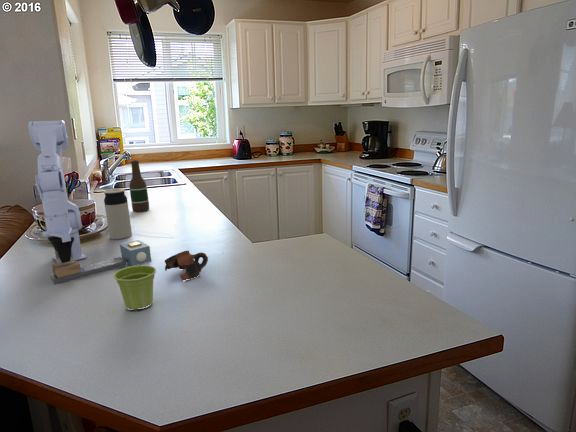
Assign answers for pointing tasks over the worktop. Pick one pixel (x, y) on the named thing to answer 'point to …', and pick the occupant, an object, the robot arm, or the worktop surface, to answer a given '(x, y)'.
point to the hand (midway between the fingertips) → (64, 260)
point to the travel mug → (117, 213)
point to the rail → (91, 270)
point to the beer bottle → (138, 189)
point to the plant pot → (136, 285)
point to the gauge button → (134, 244)
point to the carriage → (65, 266)
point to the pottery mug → (187, 263)
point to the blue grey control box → (135, 253)
